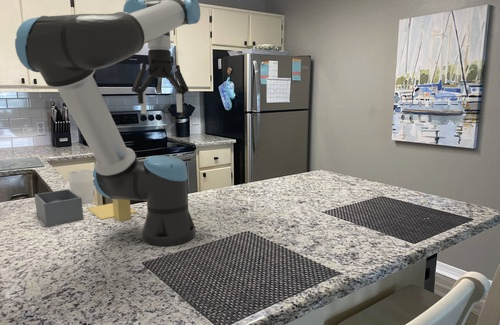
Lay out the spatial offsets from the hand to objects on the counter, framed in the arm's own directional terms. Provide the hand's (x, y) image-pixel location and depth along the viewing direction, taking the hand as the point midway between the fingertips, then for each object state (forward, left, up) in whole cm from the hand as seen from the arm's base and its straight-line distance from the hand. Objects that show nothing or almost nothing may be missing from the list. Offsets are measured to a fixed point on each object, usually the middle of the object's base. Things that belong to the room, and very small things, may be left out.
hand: (162, 113), depth 132 cm
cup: (+28, +21, -35) cm, 49 cm away
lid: (+6, +17, -35) cm, 39 cm away
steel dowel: (+16, +33, -34) cm, 50 cm away
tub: (+13, +33, -35) cm, 50 cm away
